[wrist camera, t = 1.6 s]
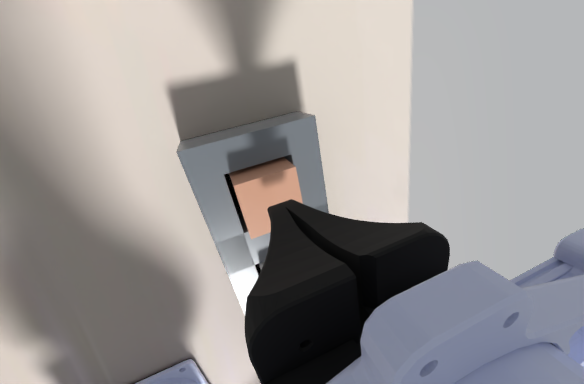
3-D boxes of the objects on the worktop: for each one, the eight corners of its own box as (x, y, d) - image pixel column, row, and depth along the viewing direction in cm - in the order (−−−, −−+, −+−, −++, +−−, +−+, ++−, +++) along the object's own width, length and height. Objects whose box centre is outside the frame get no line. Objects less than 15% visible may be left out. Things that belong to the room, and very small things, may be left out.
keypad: (263, 347, 25) (271, 377, 22) (180, 141, 15) (176, 152, 13) (332, 315, 27) (346, 339, 24) (297, 111, 17) (314, 115, 14)
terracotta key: (243, 216, 17) (251, 239, 14) (227, 169, 15) (233, 185, 13) (290, 200, 18) (305, 219, 15) (280, 154, 16) (295, 166, 14)
